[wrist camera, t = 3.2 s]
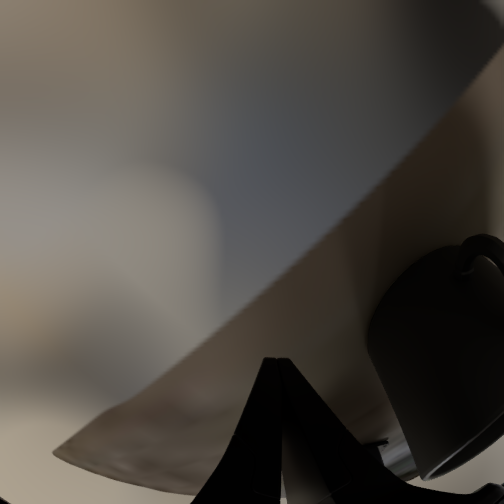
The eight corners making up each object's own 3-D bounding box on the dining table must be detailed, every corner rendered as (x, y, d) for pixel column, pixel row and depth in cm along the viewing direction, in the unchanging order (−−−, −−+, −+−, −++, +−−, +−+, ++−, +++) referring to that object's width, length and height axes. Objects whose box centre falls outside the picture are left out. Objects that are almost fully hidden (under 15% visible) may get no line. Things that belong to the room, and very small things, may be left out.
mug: (483, 178, 10) (610, 243, 2) (472, 331, 15) (531, 410, 7) (343, 234, 11) (473, 406, 3) (370, 385, 16) (410, 493, 8)
